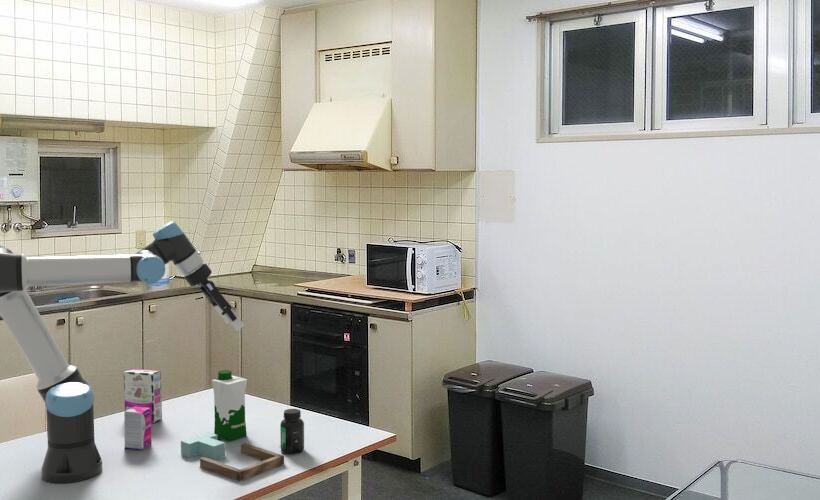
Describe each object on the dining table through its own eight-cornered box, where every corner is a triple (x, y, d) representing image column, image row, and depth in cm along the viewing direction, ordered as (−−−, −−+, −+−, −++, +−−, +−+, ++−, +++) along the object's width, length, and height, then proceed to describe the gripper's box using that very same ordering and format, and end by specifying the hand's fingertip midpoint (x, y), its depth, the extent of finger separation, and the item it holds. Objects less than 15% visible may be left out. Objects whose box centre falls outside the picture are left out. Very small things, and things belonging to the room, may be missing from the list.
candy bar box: (162, 419, 264) (161, 370, 262) (153, 424, 259) (152, 374, 257) (133, 416, 267) (132, 367, 265) (124, 420, 262) (122, 371, 261)
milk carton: (231, 430, 254) (230, 367, 252) (251, 435, 248) (250, 372, 246) (209, 437, 247) (208, 373, 245) (229, 443, 241) (228, 378, 239)
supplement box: (142, 451, 234) (141, 412, 233) (123, 449, 235) (122, 411, 234) (152, 444, 240) (151, 407, 239) (134, 442, 241) (133, 405, 240)
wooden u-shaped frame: (239, 481, 212) (239, 472, 212) (200, 467, 222) (199, 458, 222) (284, 464, 224) (284, 455, 224) (244, 451, 234) (244, 443, 234)
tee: (205, 463, 225) (205, 449, 225) (181, 454, 232) (180, 440, 231) (233, 453, 233) (233, 439, 233) (209, 445, 240) (208, 432, 239)
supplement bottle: (282, 456, 231) (281, 415, 230) (279, 448, 238) (279, 408, 236) (305, 453, 233) (305, 413, 232) (302, 446, 239) (302, 406, 238)
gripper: (213, 265, 228) (255, 323, 234) (196, 257, 250) (235, 311, 257) (191, 281, 226) (234, 339, 232) (176, 272, 248) (216, 325, 255)
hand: (235, 324), depth 245 cm, fingers open, 13 cm apart
